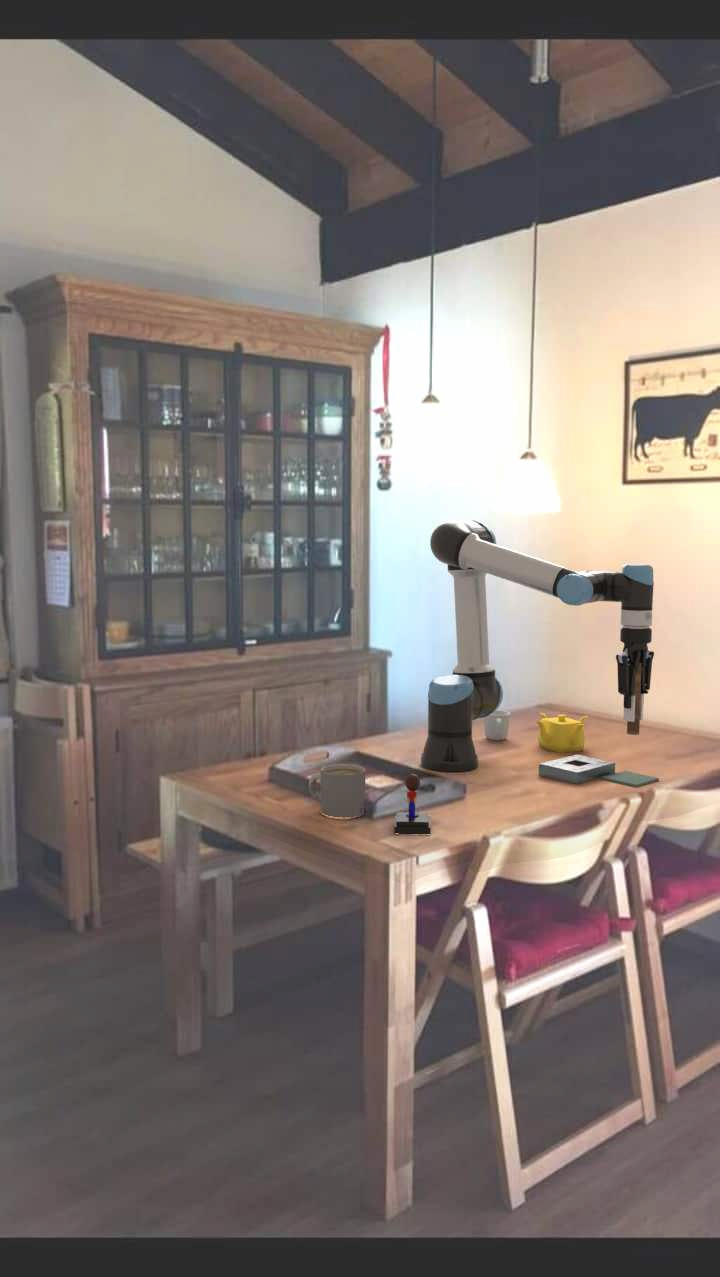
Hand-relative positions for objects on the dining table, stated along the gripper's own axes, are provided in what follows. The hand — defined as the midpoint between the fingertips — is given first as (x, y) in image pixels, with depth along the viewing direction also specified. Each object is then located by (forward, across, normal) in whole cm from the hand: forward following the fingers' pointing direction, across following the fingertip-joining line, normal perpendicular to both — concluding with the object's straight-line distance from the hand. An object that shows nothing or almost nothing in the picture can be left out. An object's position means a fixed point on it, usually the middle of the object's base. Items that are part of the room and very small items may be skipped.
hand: (633, 719), depth 260 cm
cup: (+15, +10, +53) cm, 56 cm away
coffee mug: (+15, -75, +26) cm, 81 cm away
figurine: (+16, -71, +6) cm, 73 cm away
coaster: (+15, 0, 0) cm, 15 cm away
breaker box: (+15, -6, +12) cm, 20 cm away
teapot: (+16, +16, +34) cm, 41 cm away
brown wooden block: (+4, 0, 0) cm, 4 cm away
